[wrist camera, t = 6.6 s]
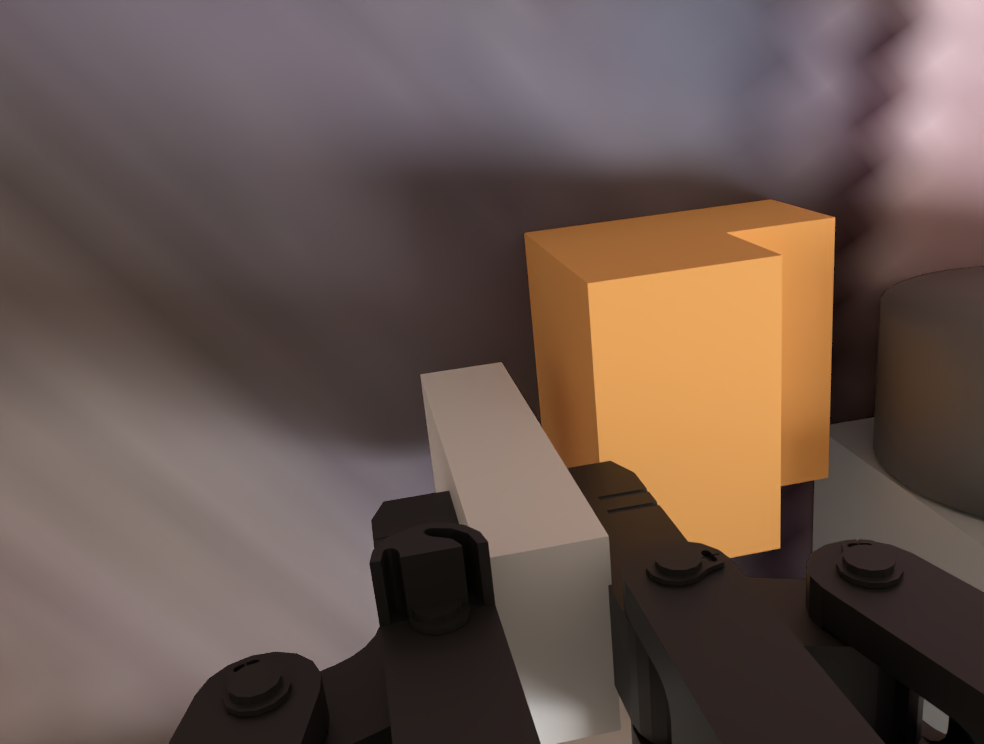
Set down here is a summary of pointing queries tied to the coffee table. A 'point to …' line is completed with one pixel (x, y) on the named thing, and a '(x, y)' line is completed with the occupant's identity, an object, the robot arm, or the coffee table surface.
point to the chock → (691, 358)
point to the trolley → (917, 436)
